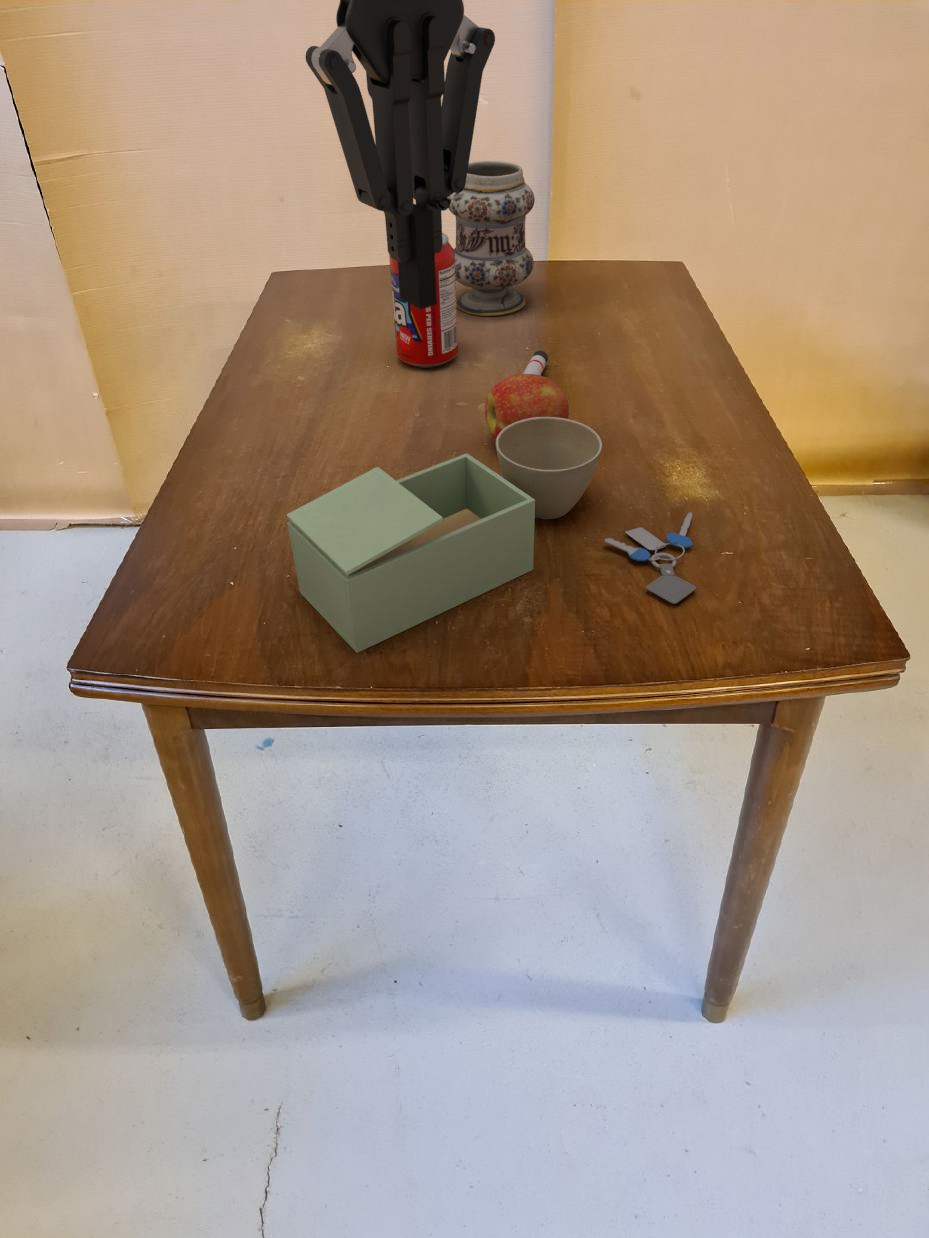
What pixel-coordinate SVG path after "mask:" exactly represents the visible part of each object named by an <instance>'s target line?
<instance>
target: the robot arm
mask: <svg viewBox="0 0 929 1238" xmlns="http://www.w3.org/2000/svg"><path fill="white" fill-rule="evenodd" d="M335 20H336V27H337V28H335V30H334V31H333V32H332V33H331V34H330V35H329V36H328V38H326V40H325V41H324V42H323V43H322V44H321V45H320V46H317V45H311V46H309V47H308V48H307V50H306V52H305V56H304V57H305V62H306V64H307V66H308V67H309V69H310V70H311V72H312V73H313V75H314V76H315V78H316V79H317V81H318V83H320V85H321V86H322V88H323V91H324V93H325V96H326V100H327V103H328V106H329V110H330V112H331V113H330V114H331V116H332V119H333V123H334V126H335V129H336V133H337V136H338V139H339V142H340V146H341V149H342V152H343V157H344V159H345V163H346V167H347V168H348V173H349V175H350V178H351V182H352V185H353V188H354V193H355V195H356V198H357V201H359V202H360V203H362V204H364V205H366V206H368V207H371V208H372V209H376V210H377V211H380V212H383V214H384V218H385V219H384V222H385V232H386V242H387V243H386V246H387V247H386V248H387V253H388V256H389V255H390V257H391V258H392V259H394V260H396V261H398V273H399V287H400V299H402V300H404V301H406V302H408V303H410V304H411V305H413V306H415V307H417V308H419V309H423V308H426V307H430V306H433V305H436V304H437V294H436V272H435V254H436V253H440V252H441V249H442V245H443V242H442V233H443V219H442V217H443V216H442V211H447V210H449V206H450V204H451V200H450V199H448V198H447V197H449V196H450V195H452V194H453V193H454V192H455V193H460V192H462V191H463V189H464V188H465V184H466V177H467V171H468V164H469V163H470V158H471V151H472V144H473V138H474V137H473V136H474V132H475V125H476V119H477V111H478V106H479V100H480V99H479V98H480V94H481V93H480V92H481V85H482V79H483V74H484V69H485V67H486V65H487V62H488V60H489V58H490V56H491V53H492V51H493V48H494V46H495V42H496V35H495V32H494V31H493V30H492V29H491V28H487V27H482V26H479V25H477V24H476V23H475V22H474V21H473V20H471V19H470V18H469V17H467V15H465V4H464V0H339V4H338V8H337V10H336V15H335ZM449 52H450V54H449ZM353 54H354V56H355V57H356V59H357V60H358V62H359V63H360V65H361V66H362V68H363V69H364V70H365V78H366V88H367V94H368V95H369V97H370V99H371V102H372V103H371V104H372V113H373V114H372V115H373V129H374V135H373V131H372V127H371V124H370V120H369V117H368V113H367V109H366V106H365V102H364V98H363V95H362V92H361V89H360V86H359V83H358V81H357V80H356V77H355V76H354V74H353V73H355V72H356V70H357V64H356V63H355V61H354V58H353ZM448 54H449V58H448V62H447V65H446V71H445V61H446V58H447V56H448ZM445 72H446V73H445ZM414 201H415V203H414Z"/></svg>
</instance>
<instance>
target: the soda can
mask: <svg viewBox="0 0 929 1238" xmlns="http://www.w3.org/2000/svg"><path fill="white" fill-rule="evenodd" d="M449 240H450V238H449V236H448V235H447V234H446V233H445V232H442V242H443V245H442V249H441V252H440V253H436V254H435V272H436V294H437V304H436V305H433V306H430V307H426V308H423V309H419V308H417V307H415V306H413V305H411V304H410V303H408V302H406V301H404V300H402V299H400V287H399V273H398V261H396V260H394V259H392V258H391V257H390V255H389V254H388V256H389V272H390V284H391V296H392V310H393V321H394V322H393V324H394V335H395V336H394V337H395V345H396V346H395V349H396V355H397V357H398V358H399V359H400V360H401V361H402V362H403V363H406V364H408V365H410V366H412V367H417V368H421V369H423V368H424V369H430V368H437V367H440V366H442V365H445V364H446V363H448V362H450V361H452V360H453V359H454V358H455V357H456V356H457V354H458V351H459V339H458V337H459V336H458V307H457V281H456V271H455V252H454V248H453V246H452V245H451V243H450V242H449Z"/></svg>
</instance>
